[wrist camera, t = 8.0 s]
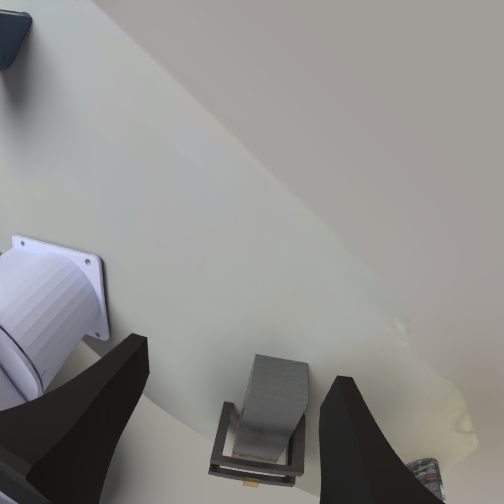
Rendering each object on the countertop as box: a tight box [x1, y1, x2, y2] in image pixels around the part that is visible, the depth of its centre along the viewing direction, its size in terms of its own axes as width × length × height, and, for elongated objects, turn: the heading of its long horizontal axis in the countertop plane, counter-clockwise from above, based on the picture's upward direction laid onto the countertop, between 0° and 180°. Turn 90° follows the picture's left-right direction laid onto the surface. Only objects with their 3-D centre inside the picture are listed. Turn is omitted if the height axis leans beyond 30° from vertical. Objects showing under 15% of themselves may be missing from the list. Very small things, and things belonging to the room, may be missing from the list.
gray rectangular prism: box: [231, 354, 308, 464], centre depth 24 cm, size 4×11×4 cm, turn 171°
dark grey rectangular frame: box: [208, 432, 296, 487], centre depth 24 cm, size 7×1×7 cm, turn 81°
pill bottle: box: [406, 459, 446, 503], centre depth 25 cm, size 6×6×11 cm
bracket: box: [210, 402, 305, 477], centre depth 23 cm, size 7×1×6 cm, turn 81°
